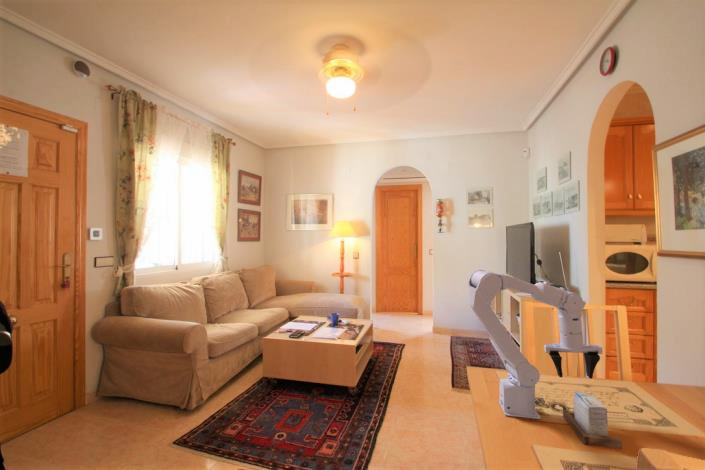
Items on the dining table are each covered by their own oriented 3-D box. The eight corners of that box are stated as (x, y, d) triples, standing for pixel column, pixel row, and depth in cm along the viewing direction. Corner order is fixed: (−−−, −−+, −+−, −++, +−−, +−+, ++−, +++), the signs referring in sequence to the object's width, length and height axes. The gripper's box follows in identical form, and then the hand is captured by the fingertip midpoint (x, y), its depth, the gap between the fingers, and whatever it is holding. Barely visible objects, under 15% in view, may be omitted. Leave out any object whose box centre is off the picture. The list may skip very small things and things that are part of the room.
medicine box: (608, 442, 80) (608, 408, 80) (589, 440, 81) (588, 406, 81) (591, 424, 87) (591, 393, 87) (573, 422, 88) (573, 391, 88)
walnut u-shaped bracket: (584, 444, 79) (584, 436, 79) (562, 416, 91) (562, 409, 91) (622, 449, 77) (621, 441, 77) (595, 420, 89) (595, 413, 89)
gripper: (592, 327, 96) (596, 371, 95) (539, 327, 100) (543, 369, 100) (604, 334, 89) (608, 382, 89) (546, 334, 93) (550, 379, 93)
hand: (574, 376), depth 94 cm, fingers open, 7 cm apart
